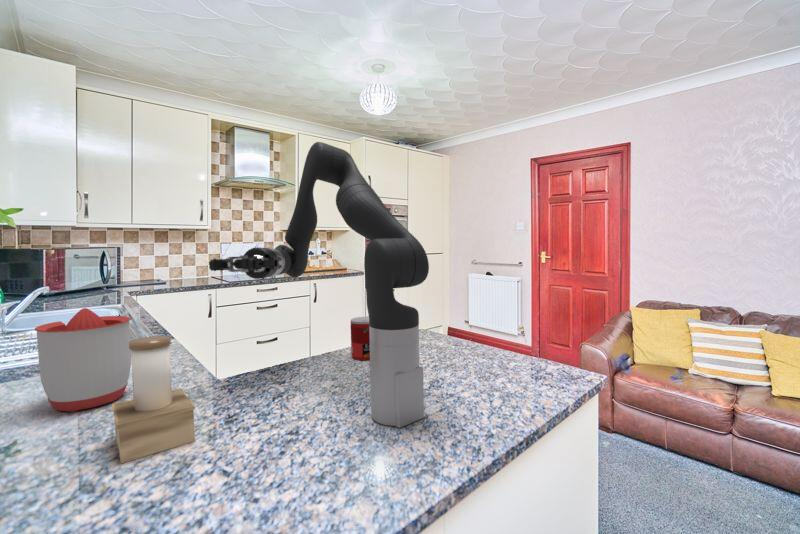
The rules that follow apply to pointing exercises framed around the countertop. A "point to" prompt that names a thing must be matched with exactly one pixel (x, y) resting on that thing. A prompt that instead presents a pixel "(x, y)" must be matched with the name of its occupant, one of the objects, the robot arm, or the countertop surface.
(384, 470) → the countertop surface
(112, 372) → the citrus juicer
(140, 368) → the cream jar
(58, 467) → the countertop surface
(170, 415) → the oak box
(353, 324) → the canned food
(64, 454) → the countertop surface
